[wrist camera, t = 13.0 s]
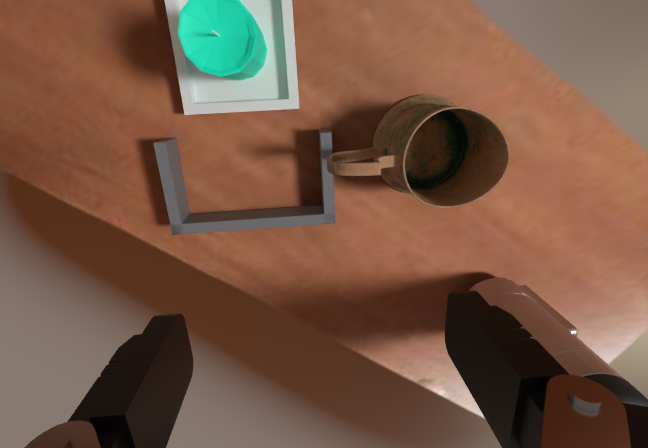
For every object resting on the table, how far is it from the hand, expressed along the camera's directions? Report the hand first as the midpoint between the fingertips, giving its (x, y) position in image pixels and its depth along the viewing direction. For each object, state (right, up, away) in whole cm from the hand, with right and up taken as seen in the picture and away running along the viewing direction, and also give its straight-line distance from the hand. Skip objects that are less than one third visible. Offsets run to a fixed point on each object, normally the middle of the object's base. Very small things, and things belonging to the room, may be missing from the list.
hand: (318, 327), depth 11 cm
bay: (-8, +9, +31) cm, 34 cm away
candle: (-9, +21, +26) cm, 35 cm away
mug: (+9, +12, +32) cm, 35 cm away
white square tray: (-9, +21, +27) cm, 35 cm away
